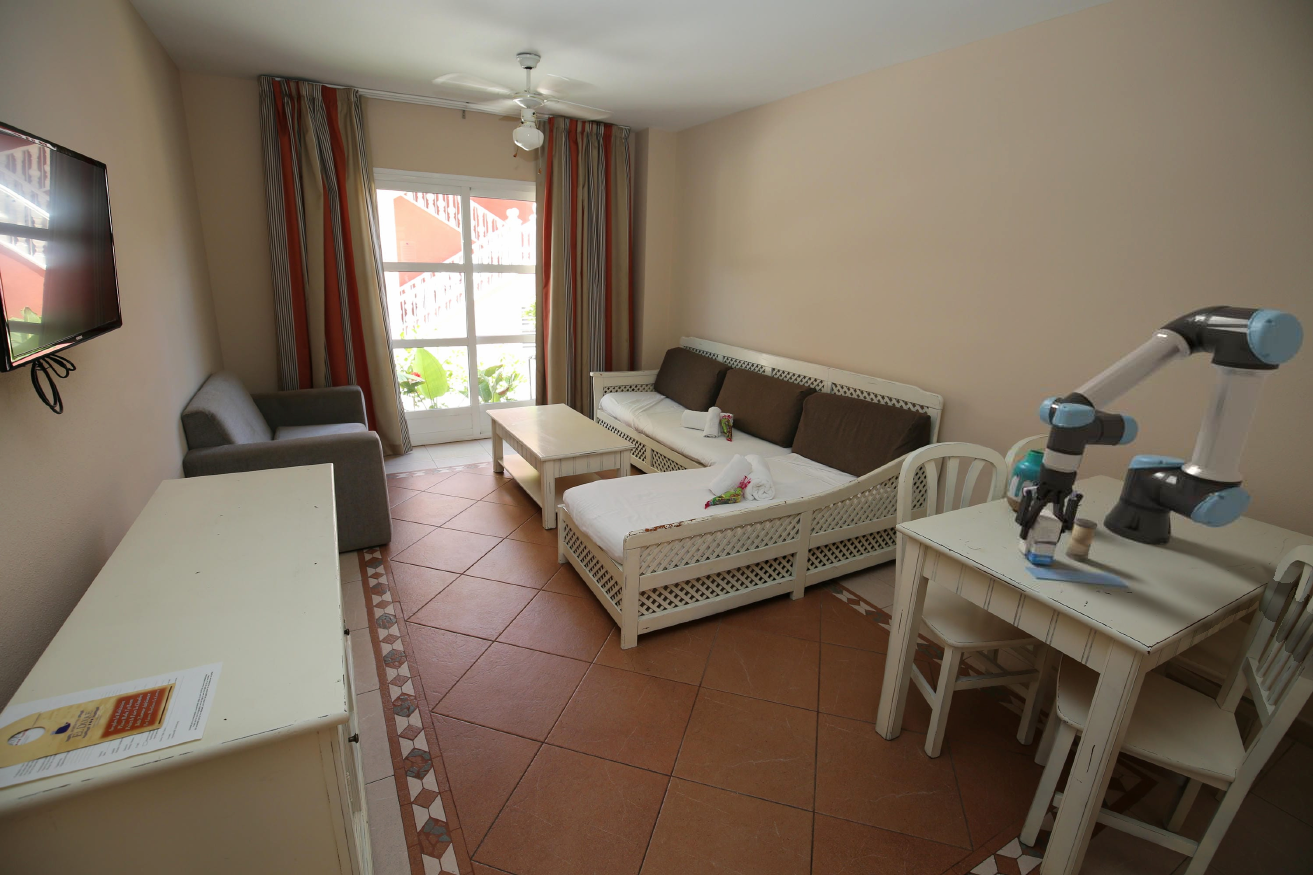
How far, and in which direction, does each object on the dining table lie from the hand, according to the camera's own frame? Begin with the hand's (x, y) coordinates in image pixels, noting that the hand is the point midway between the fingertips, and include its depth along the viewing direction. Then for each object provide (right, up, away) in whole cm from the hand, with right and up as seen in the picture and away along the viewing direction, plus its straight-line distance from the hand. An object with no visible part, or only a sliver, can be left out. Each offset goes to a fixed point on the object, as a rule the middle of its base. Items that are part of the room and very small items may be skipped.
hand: (1035, 551), depth 149 cm
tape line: (+5, -5, -8) cm, 10 cm away
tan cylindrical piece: (+12, -2, +2) cm, 12 cm away
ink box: (0, -1, 0) cm, 2 cm away
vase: (+16, +6, +30) cm, 34 cm away
